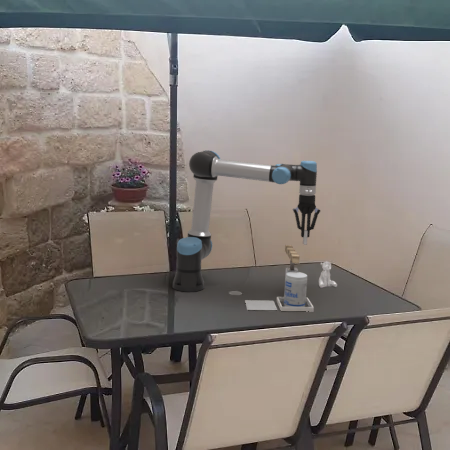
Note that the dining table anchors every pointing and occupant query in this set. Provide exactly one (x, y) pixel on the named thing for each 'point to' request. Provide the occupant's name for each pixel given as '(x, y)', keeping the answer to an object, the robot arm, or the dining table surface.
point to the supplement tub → (295, 289)
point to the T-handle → (292, 255)
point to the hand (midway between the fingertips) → (304, 243)
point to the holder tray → (310, 308)
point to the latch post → (290, 270)
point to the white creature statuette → (326, 276)
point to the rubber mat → (260, 305)
